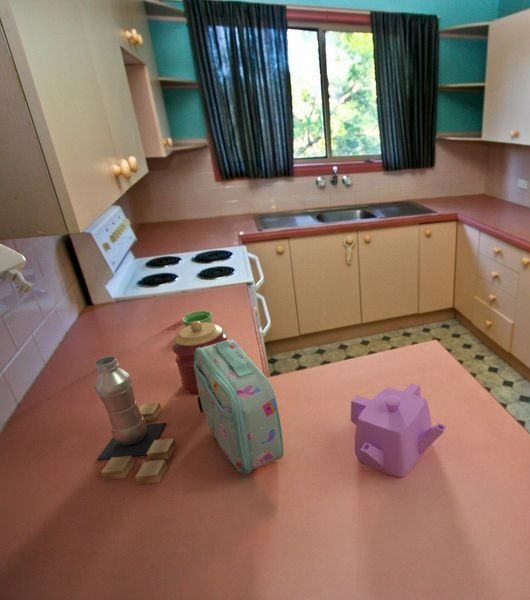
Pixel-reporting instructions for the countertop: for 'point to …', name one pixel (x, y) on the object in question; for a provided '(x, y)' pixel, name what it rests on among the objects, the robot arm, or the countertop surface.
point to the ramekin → (197, 317)
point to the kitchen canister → (187, 345)
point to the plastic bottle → (119, 402)
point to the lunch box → (238, 405)
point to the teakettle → (393, 429)
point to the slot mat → (135, 449)
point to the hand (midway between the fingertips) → (7, 301)
